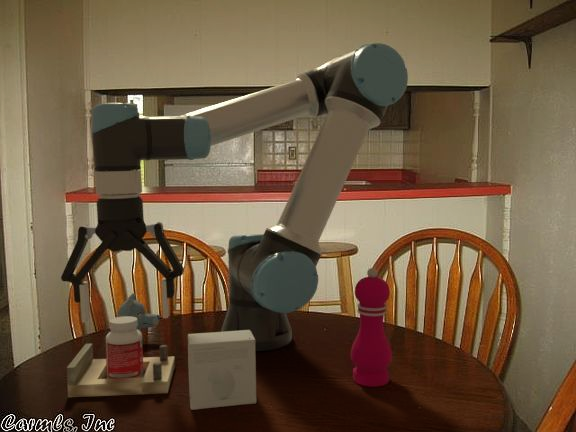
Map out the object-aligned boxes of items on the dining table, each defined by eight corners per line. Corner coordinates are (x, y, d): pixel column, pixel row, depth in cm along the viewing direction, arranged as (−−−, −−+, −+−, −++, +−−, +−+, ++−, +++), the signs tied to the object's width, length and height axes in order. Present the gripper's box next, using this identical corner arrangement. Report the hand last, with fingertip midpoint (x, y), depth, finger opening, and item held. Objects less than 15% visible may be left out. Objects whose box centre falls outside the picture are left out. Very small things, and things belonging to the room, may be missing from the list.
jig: (174, 366, 104) (174, 340, 104) (167, 393, 92) (167, 363, 92) (86, 370, 103) (85, 343, 102) (68, 397, 91) (66, 367, 90)
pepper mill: (394, 375, 100) (396, 265, 98) (388, 390, 93) (390, 273, 92) (355, 370, 103) (356, 263, 101) (346, 385, 96) (347, 270, 94)
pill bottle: (148, 383, 97) (146, 321, 96) (112, 391, 93) (110, 326, 92) (136, 371, 102) (135, 312, 101) (102, 379, 98) (100, 318, 97)
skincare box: (250, 388, 95) (250, 327, 94) (256, 404, 88) (256, 339, 87) (188, 393, 92) (187, 332, 91) (190, 410, 86) (188, 344, 85)
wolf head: (159, 344, 117) (158, 298, 116) (115, 346, 115) (114, 299, 114) (161, 335, 123) (160, 291, 122) (120, 337, 122) (118, 292, 121)
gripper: (195, 192, 99) (200, 308, 102) (50, 197, 97) (58, 315, 99) (192, 195, 92) (197, 320, 94) (35, 200, 89) (44, 328, 92)
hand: (126, 318), depth 97 cm, fingers open, 13 cm apart
